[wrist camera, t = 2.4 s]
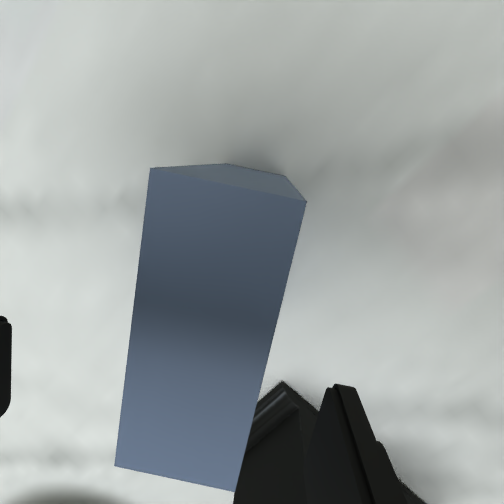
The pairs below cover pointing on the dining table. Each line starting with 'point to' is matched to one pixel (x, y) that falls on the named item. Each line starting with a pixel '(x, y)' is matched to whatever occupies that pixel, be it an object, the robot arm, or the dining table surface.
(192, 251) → the book
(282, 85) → the dining table surface
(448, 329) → the dining table surface
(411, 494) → the black drawer cabinet
